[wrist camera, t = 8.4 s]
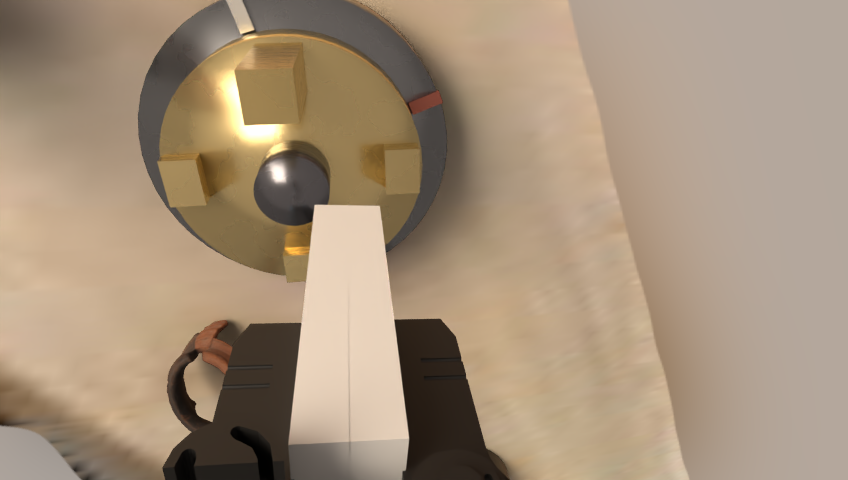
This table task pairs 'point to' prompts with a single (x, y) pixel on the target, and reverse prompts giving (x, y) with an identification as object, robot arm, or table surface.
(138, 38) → the table surface
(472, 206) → the table surface
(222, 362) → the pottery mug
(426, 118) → the base
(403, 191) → the gold lug disc
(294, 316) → the table surface
